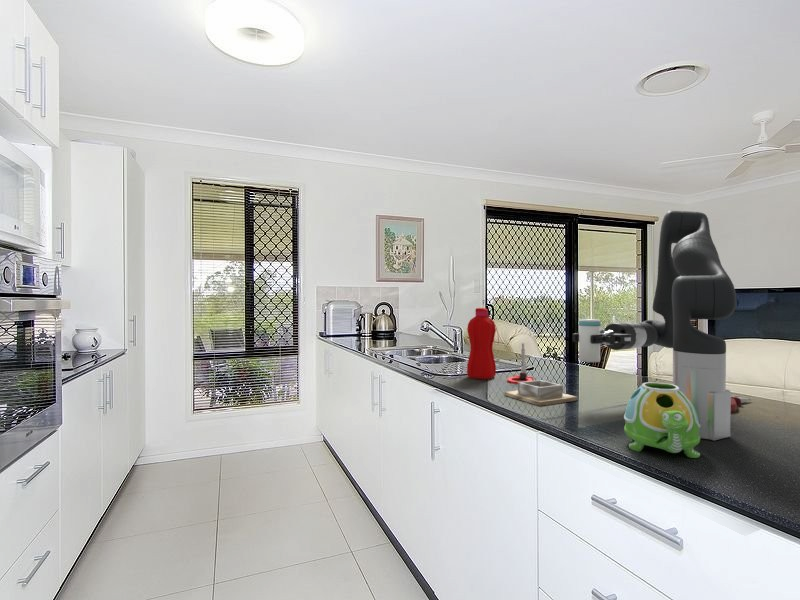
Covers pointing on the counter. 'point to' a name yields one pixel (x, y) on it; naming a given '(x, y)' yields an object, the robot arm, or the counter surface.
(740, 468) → the counter surface
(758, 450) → the counter surface
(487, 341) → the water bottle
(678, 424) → the turtle holder
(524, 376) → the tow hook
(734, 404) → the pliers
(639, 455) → the counter surface
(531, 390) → the wooden square holder
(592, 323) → the cylindrical container
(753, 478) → the counter surface
